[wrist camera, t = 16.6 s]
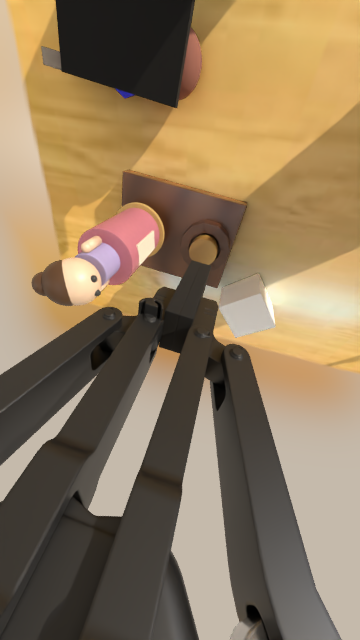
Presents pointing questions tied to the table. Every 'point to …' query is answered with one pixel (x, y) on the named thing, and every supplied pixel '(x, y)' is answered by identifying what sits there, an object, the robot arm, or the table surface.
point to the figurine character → (129, 46)
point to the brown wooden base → (185, 221)
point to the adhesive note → (247, 306)
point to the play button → (203, 249)
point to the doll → (103, 256)
